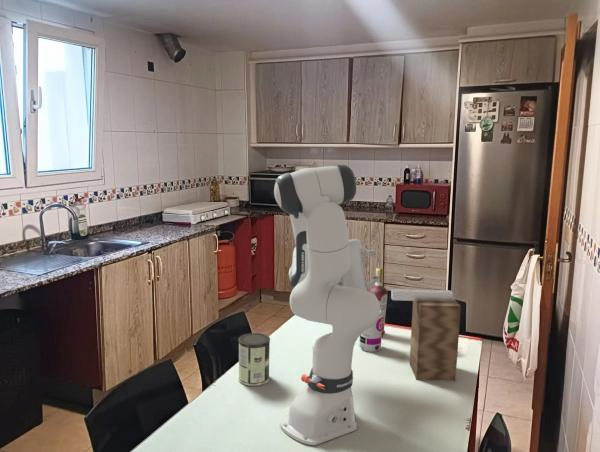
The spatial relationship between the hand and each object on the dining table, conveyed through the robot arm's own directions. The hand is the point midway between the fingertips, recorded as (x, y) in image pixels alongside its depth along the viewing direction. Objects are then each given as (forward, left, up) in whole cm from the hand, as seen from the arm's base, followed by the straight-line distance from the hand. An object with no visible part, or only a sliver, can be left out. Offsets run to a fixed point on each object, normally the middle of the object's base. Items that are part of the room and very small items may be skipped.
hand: (377, 265), depth 167 cm
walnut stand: (+14, -14, -38) cm, 43 cm away
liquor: (+27, +20, -38) cm, 51 cm away
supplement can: (+14, +13, -38) cm, 42 cm away
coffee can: (-35, +23, -38) cm, 56 cm away
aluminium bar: (+11, -11, -12) cm, 19 cm away
